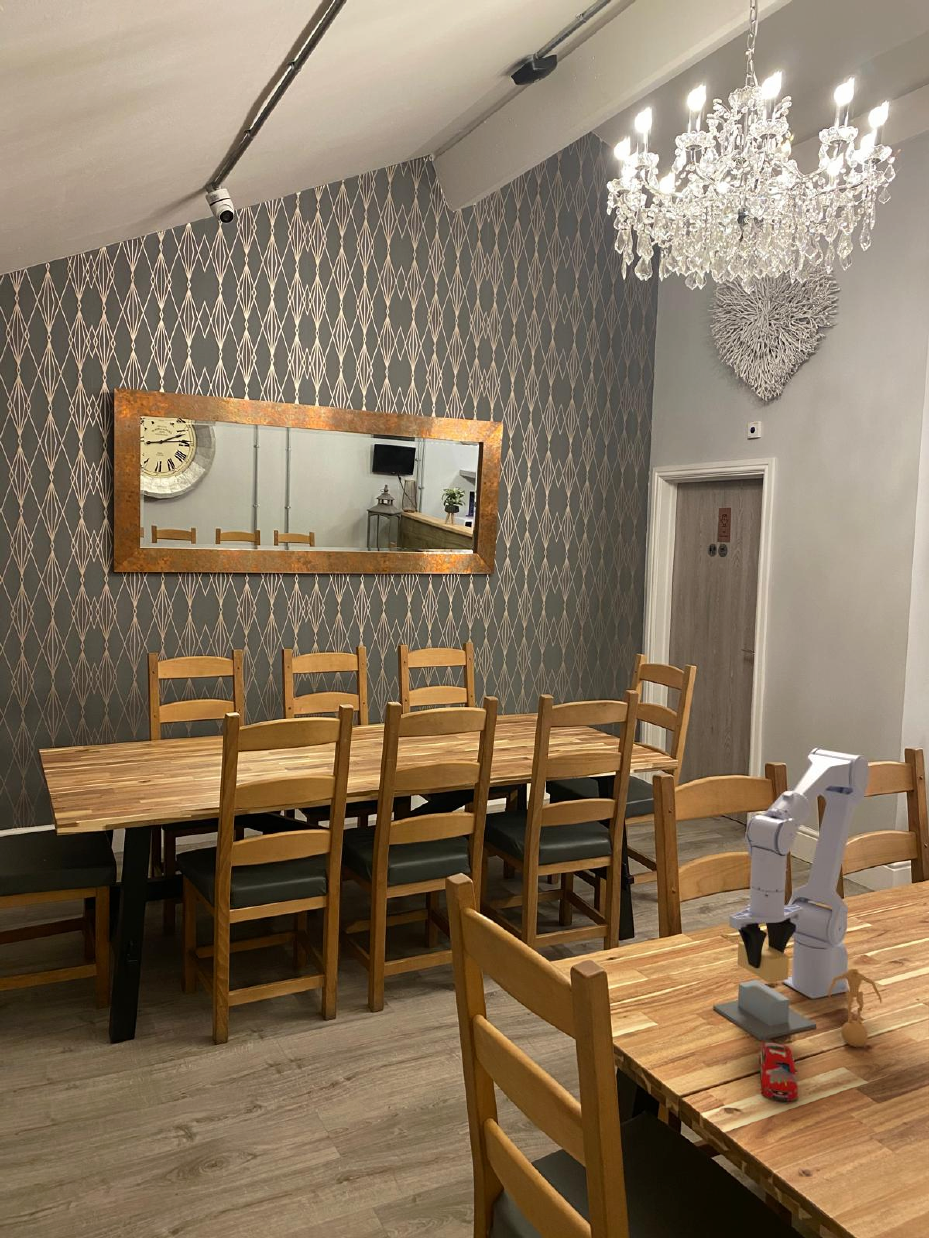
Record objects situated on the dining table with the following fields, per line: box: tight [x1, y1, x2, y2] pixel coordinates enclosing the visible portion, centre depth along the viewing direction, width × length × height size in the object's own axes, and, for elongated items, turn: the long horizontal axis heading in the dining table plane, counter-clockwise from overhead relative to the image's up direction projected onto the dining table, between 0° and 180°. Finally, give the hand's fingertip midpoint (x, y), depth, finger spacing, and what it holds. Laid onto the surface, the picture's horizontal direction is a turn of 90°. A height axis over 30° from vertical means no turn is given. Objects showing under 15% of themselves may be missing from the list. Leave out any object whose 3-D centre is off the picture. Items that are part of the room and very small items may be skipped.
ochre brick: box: [737, 940, 790, 984], centre depth 163 cm, size 4×8×4 cm, turn 24°
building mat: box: [712, 999, 817, 1041], centre depth 163 cm, size 12×12×1 cm
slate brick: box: [737, 979, 790, 1026], centre depth 163 cm, size 4×8×4 cm, turn 25°
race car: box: [758, 1042, 799, 1102], centre depth 143 cm, size 13×5×4 cm, turn 163°
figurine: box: [828, 968, 882, 1048], centre depth 155 cm, size 8×6×12 cm
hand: (764, 963), depth 163 cm, fingers closed on ochre brick, 4 cm apart
